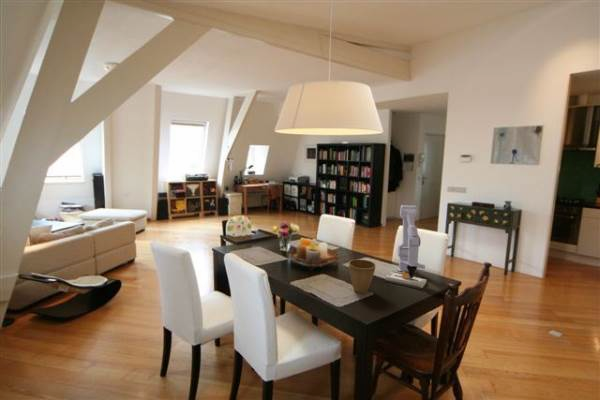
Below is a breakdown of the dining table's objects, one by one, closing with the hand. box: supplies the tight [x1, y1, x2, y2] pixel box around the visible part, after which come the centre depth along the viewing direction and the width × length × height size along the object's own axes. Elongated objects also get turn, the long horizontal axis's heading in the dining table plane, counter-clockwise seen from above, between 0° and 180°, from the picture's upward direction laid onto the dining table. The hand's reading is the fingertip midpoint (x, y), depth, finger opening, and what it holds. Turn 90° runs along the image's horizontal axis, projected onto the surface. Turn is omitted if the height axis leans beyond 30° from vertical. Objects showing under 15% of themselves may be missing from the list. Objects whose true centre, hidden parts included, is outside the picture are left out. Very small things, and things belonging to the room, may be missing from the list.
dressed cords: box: [384, 271, 428, 290], centre depth 202 cm, size 16×21×1 cm
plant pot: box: [348, 259, 377, 294], centre depth 186 cm, size 15×15×16 cm
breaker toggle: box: [402, 270, 410, 279], centre depth 201 cm, size 3×4×4 cm
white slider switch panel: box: [385, 271, 427, 289], centre depth 202 cm, size 9×22×2 cm, turn 56°
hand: (411, 277), depth 200 cm, fingers closed
